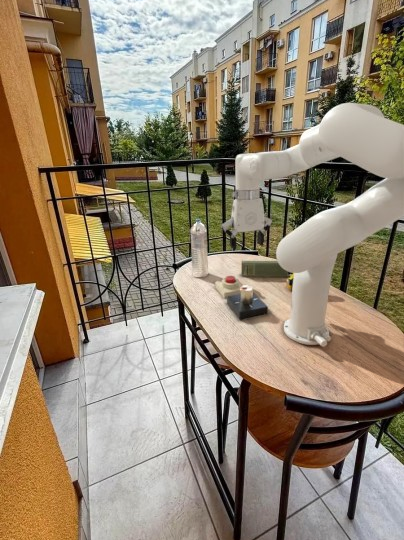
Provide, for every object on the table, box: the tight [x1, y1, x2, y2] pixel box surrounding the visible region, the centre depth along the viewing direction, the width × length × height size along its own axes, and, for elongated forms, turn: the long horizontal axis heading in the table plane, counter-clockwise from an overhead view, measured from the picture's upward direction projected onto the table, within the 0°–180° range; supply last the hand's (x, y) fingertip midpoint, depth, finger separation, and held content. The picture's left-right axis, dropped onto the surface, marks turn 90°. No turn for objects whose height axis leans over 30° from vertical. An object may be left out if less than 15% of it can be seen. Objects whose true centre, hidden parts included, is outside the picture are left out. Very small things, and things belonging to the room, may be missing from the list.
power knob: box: [241, 284, 254, 304], centre depth 94 cm, size 4×4×5 cm
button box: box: [214, 277, 244, 299], centre depth 108 cm, size 10×9×4 cm
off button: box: [225, 275, 236, 283], centre depth 107 cm, size 4×4×2 cm
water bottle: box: [189, 218, 209, 278], centre depth 119 cm, size 7×7×25 cm
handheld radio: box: [240, 260, 293, 278], centre depth 119 cm, size 7×3×25 cm
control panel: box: [226, 291, 269, 321], centre depth 95 cm, size 11×10×3 cm
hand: (247, 246), depth 94 cm, fingers open, 9 cm apart
